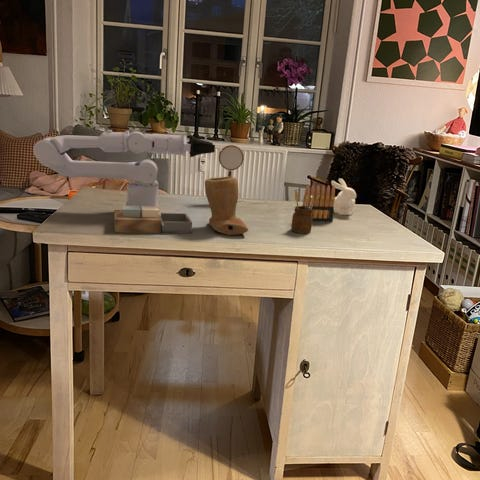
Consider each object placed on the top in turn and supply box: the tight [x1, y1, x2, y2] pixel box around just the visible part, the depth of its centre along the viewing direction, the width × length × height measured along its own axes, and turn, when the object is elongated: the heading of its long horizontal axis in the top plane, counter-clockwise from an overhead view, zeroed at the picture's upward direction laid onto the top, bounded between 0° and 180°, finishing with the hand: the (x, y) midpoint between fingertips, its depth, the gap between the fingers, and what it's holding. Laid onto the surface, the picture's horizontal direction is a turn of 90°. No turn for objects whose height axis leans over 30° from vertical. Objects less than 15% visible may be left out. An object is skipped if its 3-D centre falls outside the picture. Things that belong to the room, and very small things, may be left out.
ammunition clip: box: [301, 183, 336, 223], centre depth 161 cm, size 11×2×12 cm, turn 103°
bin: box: [160, 212, 193, 234], centre depth 140 cm, size 8×10×3 cm
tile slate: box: [122, 205, 140, 217], centre depth 136 cm, size 4×4×2 cm
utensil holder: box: [290, 188, 315, 234], centre depth 148 cm, size 6×6×12 cm
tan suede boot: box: [204, 176, 249, 236], centre depth 142 cm, size 15×12×15 cm
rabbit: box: [330, 178, 357, 216], centre depth 178 cm, size 12×9×12 cm
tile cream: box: [141, 205, 160, 218], centre depth 138 cm, size 4×4×2 cm
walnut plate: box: [113, 209, 162, 234], centre depth 138 cm, size 12×10×4 cm
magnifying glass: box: [218, 144, 245, 177], centre depth 176 cm, size 9×2×20 cm, turn 96°
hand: (213, 147), depth 152 cm, fingers open, 7 cm apart
